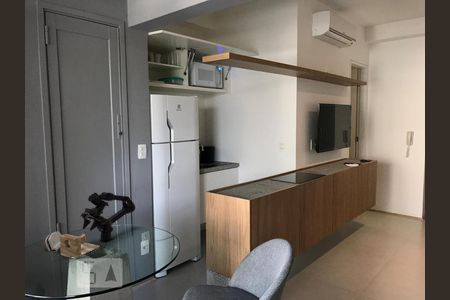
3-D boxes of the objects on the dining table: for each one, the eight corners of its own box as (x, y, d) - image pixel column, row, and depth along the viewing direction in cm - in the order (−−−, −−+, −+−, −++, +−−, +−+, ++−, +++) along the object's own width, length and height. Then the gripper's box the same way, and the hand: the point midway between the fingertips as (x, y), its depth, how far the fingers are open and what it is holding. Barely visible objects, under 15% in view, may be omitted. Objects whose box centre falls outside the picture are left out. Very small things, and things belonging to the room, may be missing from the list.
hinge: (56, 250, 216) (49, 237, 214) (49, 253, 216) (42, 239, 214) (66, 240, 232) (60, 228, 231) (59, 243, 232) (53, 230, 231)
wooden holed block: (81, 240, 216) (80, 232, 216) (86, 241, 214) (86, 234, 213) (66, 246, 207) (65, 238, 206) (71, 248, 204) (71, 240, 204)
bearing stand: (85, 244, 224) (83, 226, 223) (99, 248, 218) (98, 229, 216) (61, 255, 209) (59, 235, 207) (76, 259, 202) (74, 239, 201)
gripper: (81, 201, 224) (68, 222, 215) (101, 204, 215) (88, 226, 207) (92, 209, 232) (80, 229, 223) (111, 212, 223) (99, 234, 214)
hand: (86, 229), depth 217 cm, fingers open, 6 cm apart
